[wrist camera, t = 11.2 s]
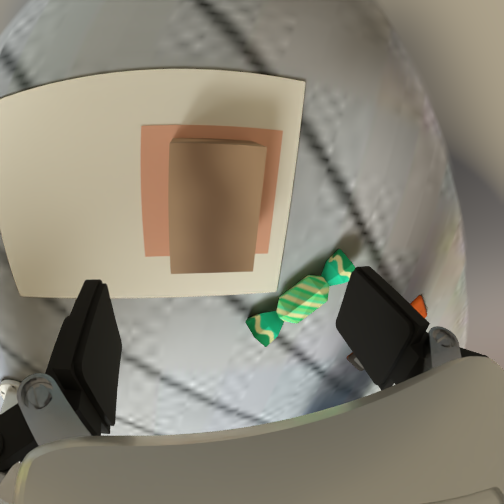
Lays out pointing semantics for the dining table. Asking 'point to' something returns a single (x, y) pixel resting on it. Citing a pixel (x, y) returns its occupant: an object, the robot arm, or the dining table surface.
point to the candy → (301, 299)
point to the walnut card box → (214, 204)
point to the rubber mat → (134, 177)
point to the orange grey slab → (417, 304)
